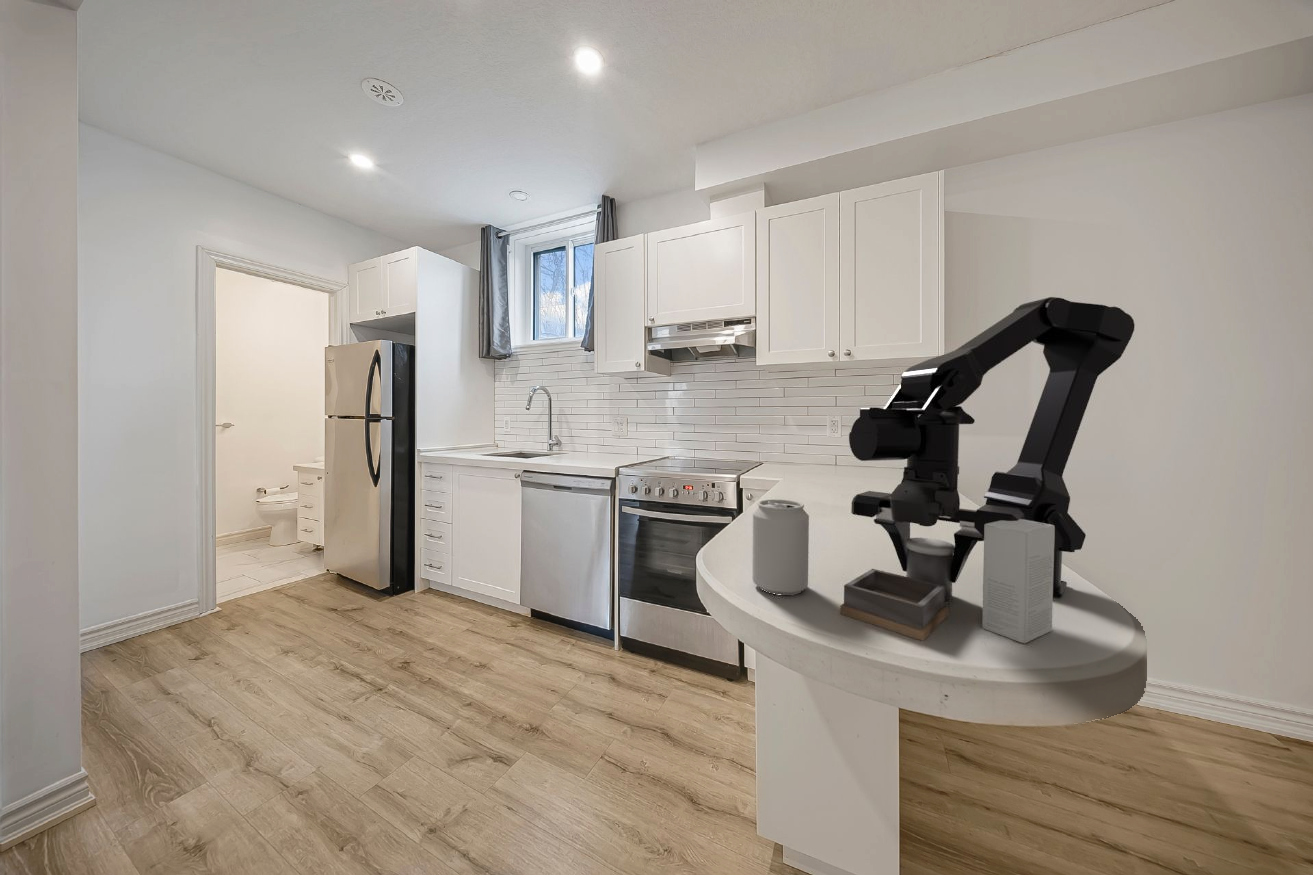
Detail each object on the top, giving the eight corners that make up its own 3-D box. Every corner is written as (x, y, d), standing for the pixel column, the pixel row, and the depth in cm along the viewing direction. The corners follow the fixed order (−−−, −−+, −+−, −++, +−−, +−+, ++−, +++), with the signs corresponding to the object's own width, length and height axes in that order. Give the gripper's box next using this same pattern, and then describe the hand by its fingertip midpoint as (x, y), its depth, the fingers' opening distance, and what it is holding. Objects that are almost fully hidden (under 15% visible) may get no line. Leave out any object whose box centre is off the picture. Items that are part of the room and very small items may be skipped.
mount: (870, 593, 60) (871, 567, 60) (947, 614, 54) (948, 586, 53) (840, 613, 54) (840, 585, 54) (923, 641, 47) (924, 608, 47)
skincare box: (1008, 616, 53) (1011, 516, 52) (1052, 632, 49) (1057, 524, 49) (979, 628, 50) (982, 522, 50) (1024, 645, 46) (1028, 531, 46)
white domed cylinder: (913, 584, 63) (914, 535, 63) (957, 595, 59) (959, 543, 59) (899, 594, 60) (900, 543, 59) (945, 607, 56) (947, 552, 55)
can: (811, 600, 58) (812, 508, 57) (752, 596, 59) (753, 506, 59) (804, 579, 65) (805, 498, 65) (752, 576, 67) (752, 496, 66)
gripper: (834, 458, 60) (832, 573, 61) (1009, 471, 46) (1004, 618, 47) (868, 453, 67) (866, 555, 68) (1027, 462, 54) (1023, 589, 55)
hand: (928, 576), depth 59 cm, fingers open, 5 cm apart
